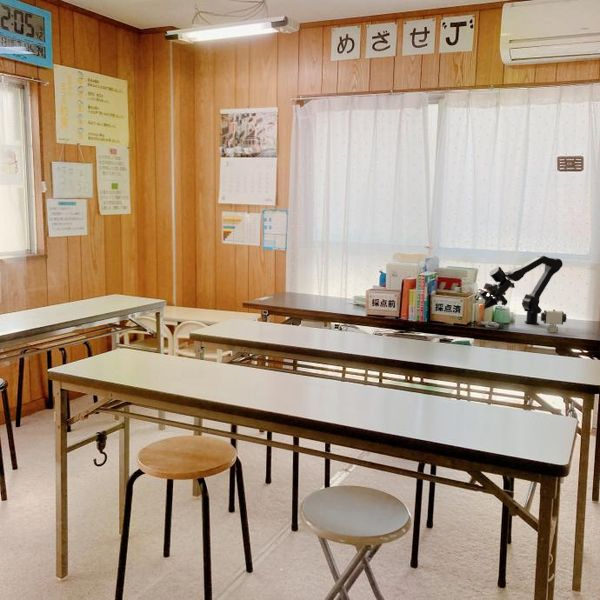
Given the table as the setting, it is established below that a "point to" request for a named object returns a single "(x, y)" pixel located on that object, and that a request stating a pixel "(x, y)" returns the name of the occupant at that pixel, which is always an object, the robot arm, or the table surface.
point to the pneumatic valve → (553, 319)
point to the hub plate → (491, 327)
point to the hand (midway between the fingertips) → (483, 308)
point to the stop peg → (500, 325)
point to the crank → (482, 316)
